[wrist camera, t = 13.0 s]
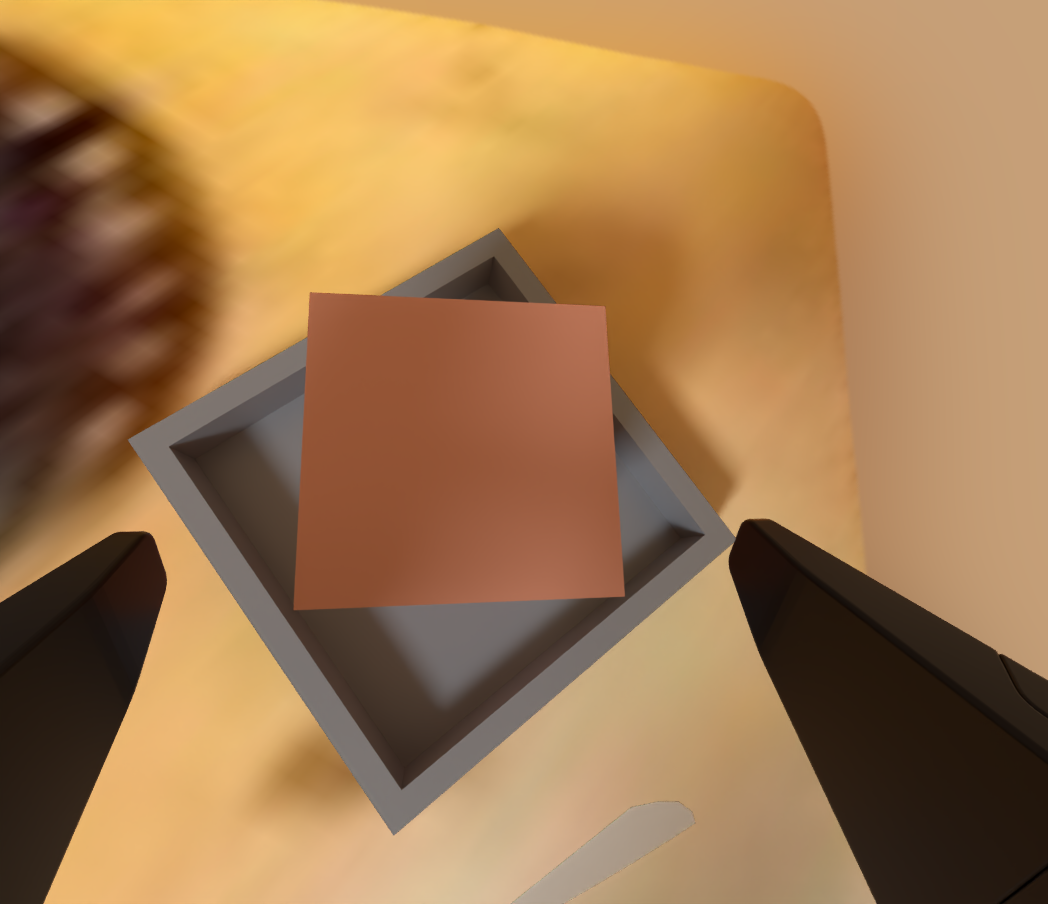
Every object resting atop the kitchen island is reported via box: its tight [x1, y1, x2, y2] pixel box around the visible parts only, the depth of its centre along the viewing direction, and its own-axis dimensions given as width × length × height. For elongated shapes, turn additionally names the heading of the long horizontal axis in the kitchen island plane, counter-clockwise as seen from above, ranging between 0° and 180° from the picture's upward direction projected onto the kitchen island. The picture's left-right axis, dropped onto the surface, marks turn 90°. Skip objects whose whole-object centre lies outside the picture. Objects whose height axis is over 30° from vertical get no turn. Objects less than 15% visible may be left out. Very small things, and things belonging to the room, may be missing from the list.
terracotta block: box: [293, 292, 625, 610], centre depth 15 cm, size 6×6×9 cm
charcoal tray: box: [128, 228, 736, 835], centre depth 19 cm, size 14×14×2 cm
